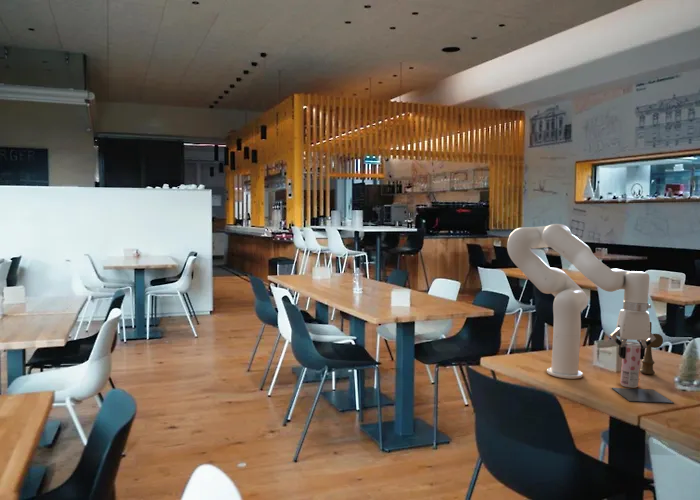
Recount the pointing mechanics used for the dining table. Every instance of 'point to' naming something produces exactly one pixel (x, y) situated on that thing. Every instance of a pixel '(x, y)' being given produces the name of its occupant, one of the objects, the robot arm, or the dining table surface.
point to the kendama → (650, 354)
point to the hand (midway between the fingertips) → (631, 357)
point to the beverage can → (631, 365)
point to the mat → (642, 395)
